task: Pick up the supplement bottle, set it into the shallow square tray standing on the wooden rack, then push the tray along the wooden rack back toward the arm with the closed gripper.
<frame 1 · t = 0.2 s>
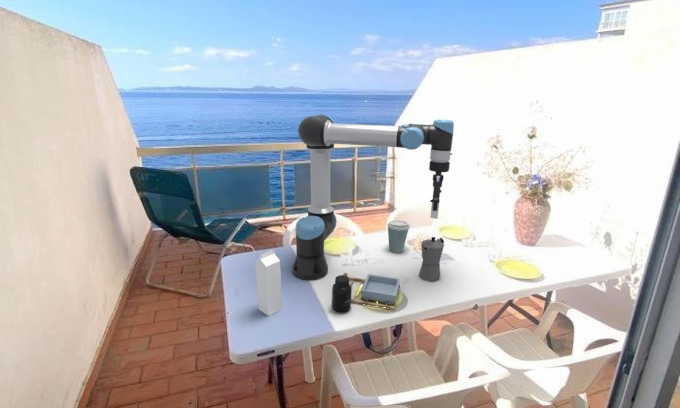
hand: (434, 212, 140), 28 cm above the table, fingers open, 13 cm apart
wooden rack: (368, 293, 132), on the table
shallow square tray: (380, 289, 131), point 3 cm above the table, slide at 0.0 cm
milk: (270, 309, 122), on the table
supplement bottle: (341, 308, 123), on the table
disposable coffee cup: (396, 250, 170), on the table
coffeepot: (430, 276, 147), on the table
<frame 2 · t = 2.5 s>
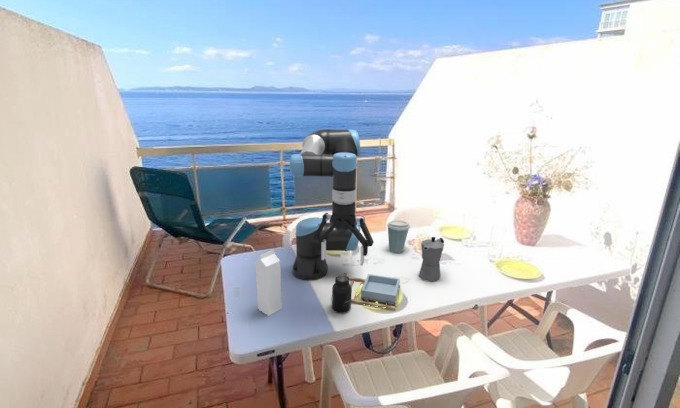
hand: (342, 261, 117), 19 cm above the table, fingers open, 13 cm apart
nothing on the table moved.
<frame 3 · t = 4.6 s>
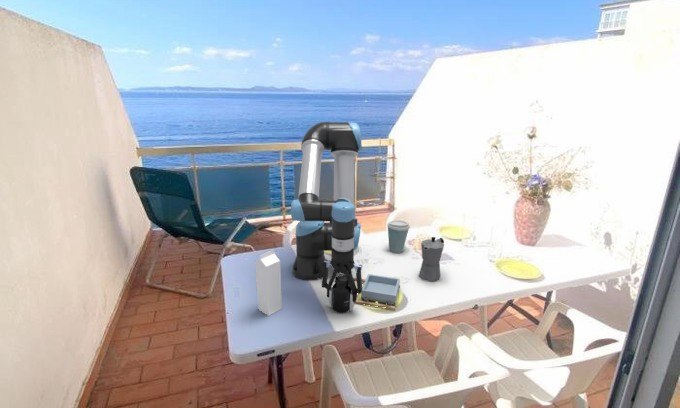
hand: (341, 306, 123), 1 cm above the table, fingers closed on supplement bottle, 7 cm apart
supplement bottle: (341, 308, 123), on the table, touching gripper
everything else where it was.
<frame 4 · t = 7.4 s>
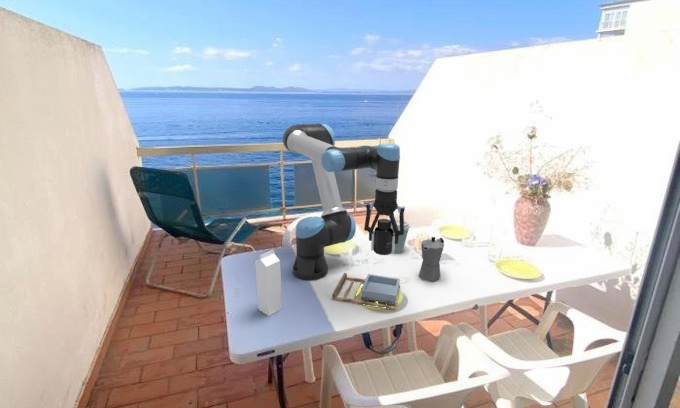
hand: (382, 250, 126), 19 cm above the table, fingers closed on supplement bottle, 7 cm apart
supplement bottle: (382, 252, 126), point 18 cm above the table, touching gripper
everything else where it was.
when the fingers open (4 cm above the table, at t = 10.4 s): supplement bottle drops 2 cm, resting on shallow square tray.
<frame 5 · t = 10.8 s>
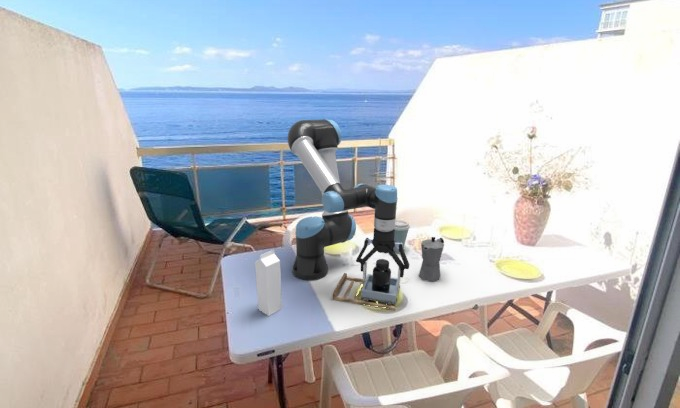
hand: (381, 281, 130), 6 cm above the table, fingers open, 12 cm apart
shallow square tray: (380, 289, 131), point 3 cm above the table, slide at 0.1 cm, touching supplement bottle
supplement bottle: (380, 290, 131), point 2 cm above the table, touching shallow square tray
everything else where it was.
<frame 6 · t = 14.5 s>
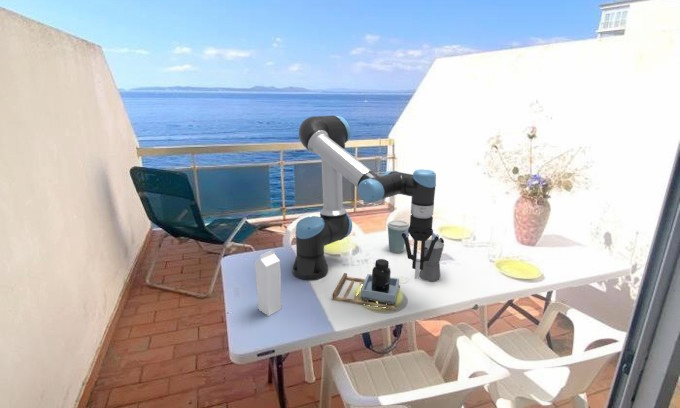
hand: (416, 276, 125), 10 cm above the table, fingers closed
nothing on the table moved.
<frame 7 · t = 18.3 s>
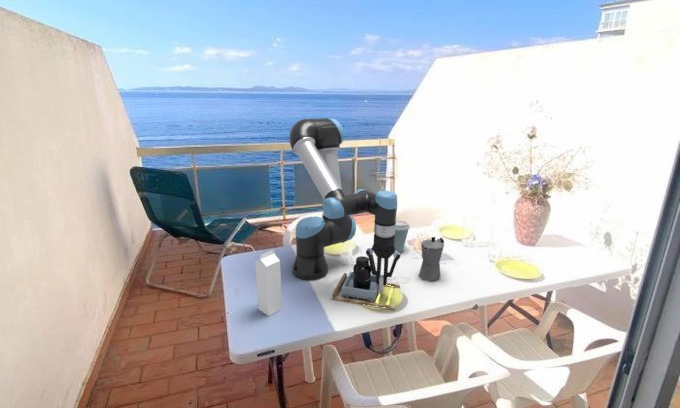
hand: (381, 291, 131), 2 cm above the table, fingers closed
shallow square tray: (362, 286, 132), point 3 cm above the table, slide at 7.3 cm, touching supplement bottle
supplement bottle: (361, 287, 133), point 2 cm above the table, touching shallow square tray, hand
everything else where it was.
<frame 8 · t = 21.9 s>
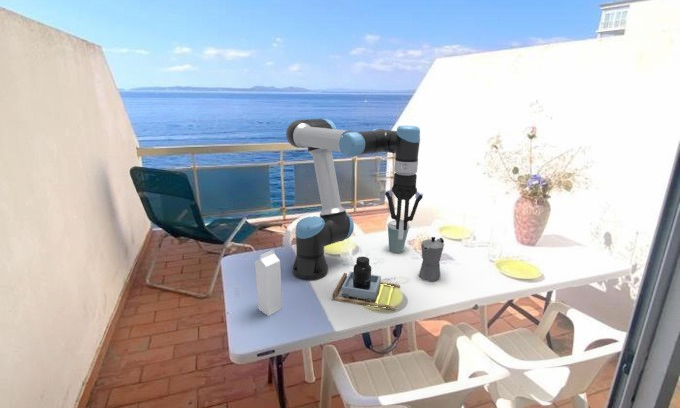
hand: (400, 237, 123), 24 cm above the table, fingers closed
supplement bottle: (361, 287, 133), point 2 cm above the table, touching shallow square tray
everything else where it was.
at the end: shallow square tray slide at 7.4 cm; supplement bottle inside the target area on the shallow square tray (0.1 cm from its centre), point 1.9 cm above the shallow square tray's base; supplement bottle tilted 0° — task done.
